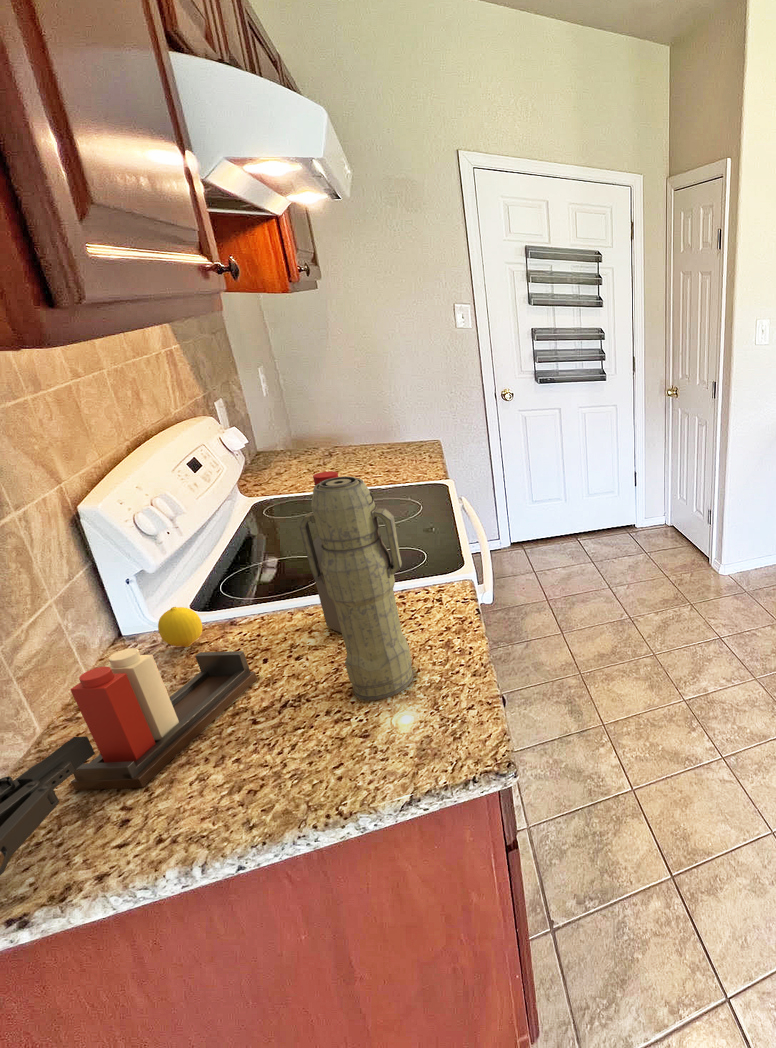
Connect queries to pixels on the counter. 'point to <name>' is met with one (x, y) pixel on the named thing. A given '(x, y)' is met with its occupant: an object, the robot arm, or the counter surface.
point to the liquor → (325, 601)
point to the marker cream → (146, 689)
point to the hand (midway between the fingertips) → (84, 745)
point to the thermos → (360, 584)
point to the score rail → (194, 710)
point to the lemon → (180, 626)
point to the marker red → (113, 715)
